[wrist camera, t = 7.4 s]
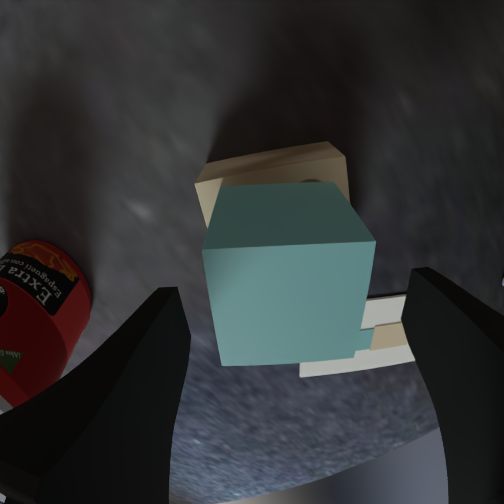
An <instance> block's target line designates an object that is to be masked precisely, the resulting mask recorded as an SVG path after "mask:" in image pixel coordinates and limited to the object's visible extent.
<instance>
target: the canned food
mask: <svg viewBox="0 0 504 504" xmlns="http://www.w3.org/2000/svg"><path fill="white" fill-rule="evenodd" d="M91 303H92V301H91V293H90V289H89V286H88V283H87V281H86V279H85V277H84V275H83V273H82V272H81V270H80V269H79V267H78V266H77V265H76V263H75V262H74V261H73V260H72V259H71V258H70V257H69V256H68V255H67V254H66V253H65V252H63V251H62V250H61V249H59V248H57V247H56V246H54V245H52V244H50V243H48V242H44V241H40V240H30V241H27V242H24V243H21V244H18V245H16V246H14V247H13V248H12V249H10V250H9V251H8V252H7V253H6V254H5V255H4V256H3V257H2V258H1V259H0V414H2V413H5V412H7V411H9V410H11V409H13V408H15V407H16V406H18V405H20V404H22V403H24V402H26V401H27V400H29V399H31V398H32V397H34V396H36V395H37V394H39V393H41V392H42V391H44V390H45V389H46V388H48V387H49V386H51V385H52V384H54V383H55V382H57V381H58V380H59V379H60V377H61V375H62V373H63V371H64V368H65V366H66V364H67V362H68V360H69V358H70V356H71V354H72V352H73V350H74V348H75V346H76V344H77V343H78V341H79V339H80V337H81V335H82V333H83V331H84V329H85V327H86V325H87V323H88V321H89V318H90V311H91Z"/></svg>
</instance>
